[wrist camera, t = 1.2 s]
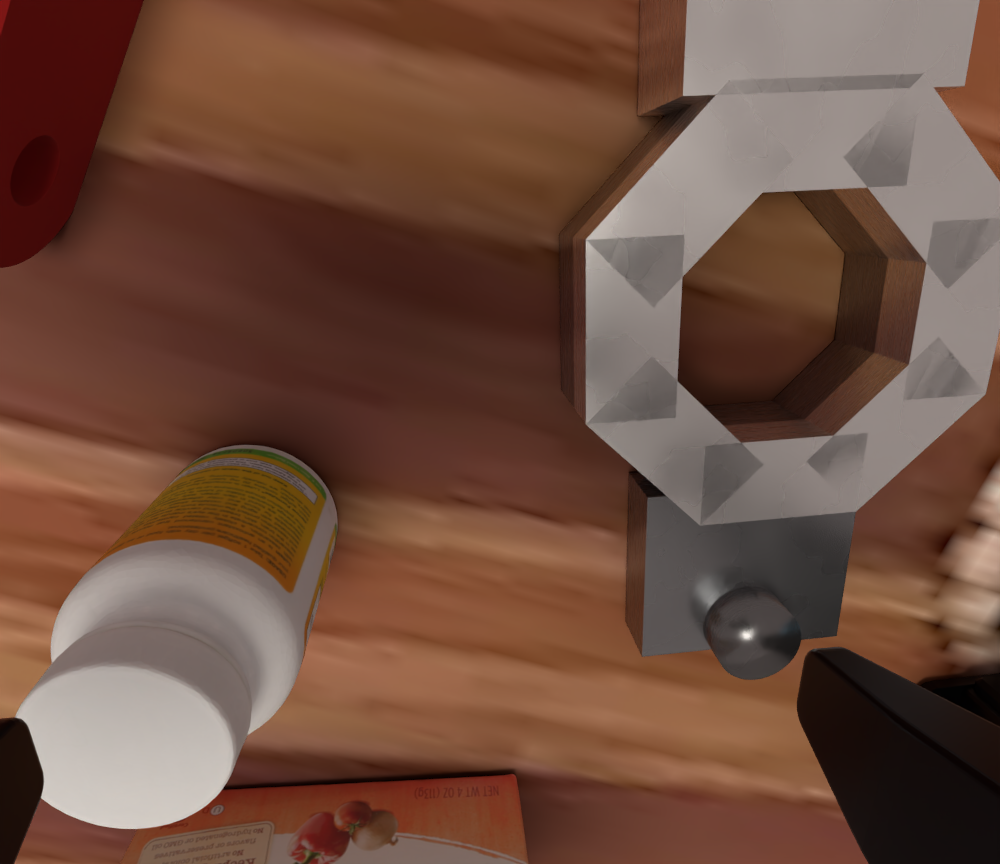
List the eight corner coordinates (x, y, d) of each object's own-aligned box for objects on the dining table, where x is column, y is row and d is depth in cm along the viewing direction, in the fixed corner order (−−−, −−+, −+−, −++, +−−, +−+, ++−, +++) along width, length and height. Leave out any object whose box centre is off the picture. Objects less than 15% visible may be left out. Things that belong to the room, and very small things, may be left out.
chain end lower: (861, 606, 25) (920, 661, 22) (564, 636, 24) (583, 698, 21) (946, 93, 19) (1044, 71, 16) (557, 107, 18) (582, 87, 15)
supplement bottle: (142, 461, 20) (-97, 672, 11) (312, 423, 20) (214, 600, 11) (204, 604, 22) (43, 886, 13) (359, 568, 22) (308, 822, 13)
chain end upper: (885, 459, 23) (975, 509, 19) (562, 486, 22) (589, 544, 18) (990, -167, 17) (1150, -275, 13) (553, -166, 16) (591, -282, 12)
